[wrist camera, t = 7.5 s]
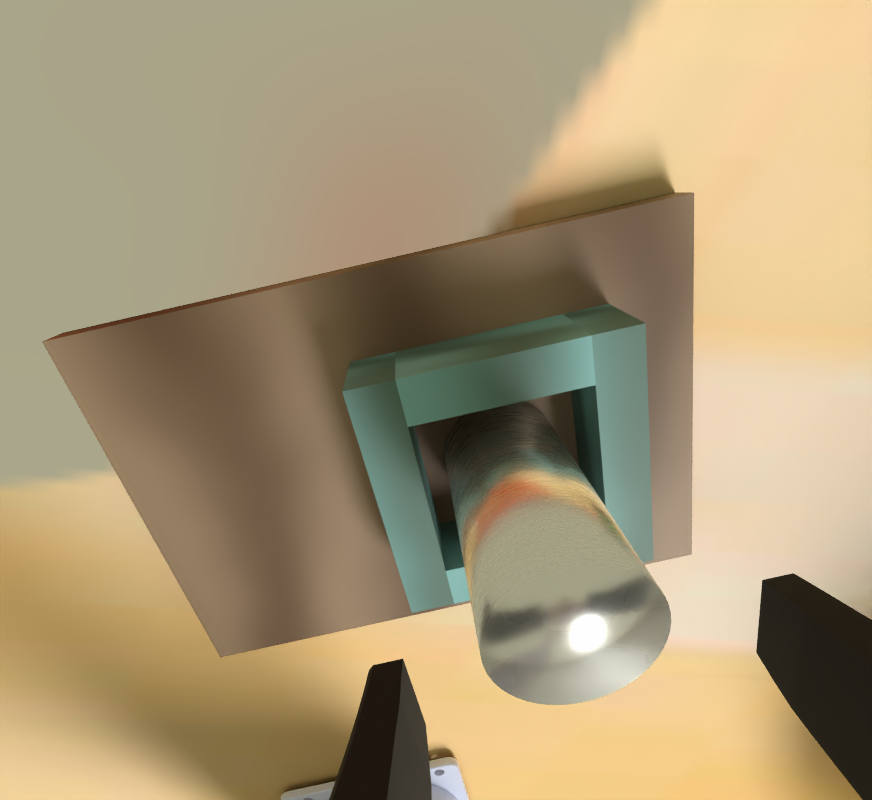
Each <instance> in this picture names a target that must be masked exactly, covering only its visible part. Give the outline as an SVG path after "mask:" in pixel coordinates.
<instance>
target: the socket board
mask: <svg viewBox="0 0 872 800" xmlns="http://www.w3.org/2000/svg"><path fill="white" fill-rule="evenodd" d="M693 269H694V193H672V194H668V195H663V196H659V197H655V198H650V199H646V200H642V201H637V202H633V203H628V204H624V205H620V206H615V207H611V208H607V209H602V210H598V211H594V212H589V213H585V214H580V215H576V216H572V217H567V218H563V219H559V220H554V221H550V222H545V223H541V224H537V225H532V226H528V227H524V228H519V229H515V230H511V231H506V232H502V233H497V234H493V235H489V236H484V237H480V238H476V239H471V240H467V241H462V242H458V243H454V244H449V245H445V246H441V247H436V248H432V249H428V250H423V251H419V252H414V253H410V254H406V255H401V256H397V257H393V258H388V259H384V260H379V261H375V262H371V263H366V264H363V265H358V266H353V267H349V268H344V269H340V270H336V271H331V272H327V273H323V274H318V275H314V276H310V277H305V278H301V279H296V280H292V281H288V282H283V283H279V284H275V285H270V286H266V287H261V288H257V289H253V290H248V291H244V292H240V293H235V294H231V295H227V296H222V297H218V298H213V299H209V300H205V301H201V302H196V303H192V304H187V305H183V306H178V307H174V308H170V309H165V310H162V311H157V312H152V313H148V314H144V315H139V316H135V317H131V318H126V319H122V320H118V321H113V322H109V323H104V324H100V325H96V326H91V327H87V328H83V329H78V330H74V331H70V332H65V333H62V334H59V335H57V336H55V337H52V338H50V339H48V340H45V341H43V344H44V346H45V347H46V349H47V351H48V353H49V354H50V356H51V358H52V360H53V362H54V363H55V365H56V367H57V369H58V371H59V372H60V374H61V376H62V377H63V379H64V381H65V383H66V385H67V386H68V388H69V390H70V392H71V394H72V395H73V397H74V399H75V400H76V402H77V404H78V406H79V408H80V409H81V411H82V413H83V415H84V416H85V418H86V420H87V422H88V424H89V425H90V427H91V429H92V431H93V432H94V434H95V436H96V438H97V440H98V441H99V443H100V445H101V446H102V448H103V450H104V452H105V454H106V455H107V457H108V459H109V461H110V463H111V464H112V466H113V468H114V470H115V471H116V473H117V475H118V477H119V478H120V480H121V482H122V484H123V486H124V487H125V489H126V491H127V493H128V494H129V496H130V498H131V500H132V501H133V503H134V505H135V507H136V509H137V510H138V512H139V514H140V516H141V517H142V519H143V521H144V523H145V524H146V526H147V528H148V530H149V532H150V533H151V535H152V537H153V539H154V540H155V542H156V544H157V546H158V547H159V549H160V551H161V553H162V555H163V556H164V558H165V560H166V562H167V563H168V565H169V567H170V569H171V570H172V572H173V574H174V576H175V578H176V579H177V581H178V583H179V585H180V586H181V588H182V590H183V592H184V593H185V595H186V597H187V599H188V601H189V602H190V604H191V606H192V608H193V609H194V611H195V613H196V615H197V616H198V618H199V620H200V622H201V624H202V625H203V627H204V629H205V631H206V632H207V634H208V636H209V638H210V639H211V641H212V643H213V645H214V647H215V648H216V650H217V652H218V654H219V655H220V657H224V656H229V655H233V654H238V653H242V652H247V651H251V650H256V649H261V648H265V647H270V646H274V645H279V644H283V643H288V642H293V641H297V640H302V639H306V638H311V637H315V636H320V635H325V634H329V633H334V632H338V631H343V630H347V629H352V628H357V627H361V626H366V625H370V624H375V623H379V622H384V621H389V620H393V619H398V618H402V617H407V616H411V615H416V614H421V613H425V612H430V611H434V610H439V609H444V608H448V607H453V606H457V605H462V604H466V603H471V600H470V595H469V589H468V584H467V578H466V573H465V567H464V562H463V556H462V551H461V545H460V540H459V534H458V529H457V523H456V518H455V512H454V507H453V501H452V496H451V490H450V485H449V479H448V474H447V469H446V463H445V456H444V450H445V443H446V439H447V436H448V434H449V432H450V430H451V428H452V427H453V425H454V424H455V422H456V421H457V420H458V419H459V418H460V417H461V416H462V415H464V414H469V413H473V412H478V411H482V410H487V409H491V408H496V407H500V406H505V405H509V404H514V403H518V402H525V403H528V404H530V405H532V406H534V407H535V408H537V409H538V410H539V411H541V412H542V413H543V414H544V415H545V417H546V418H547V419H548V421H549V422H550V424H551V425H552V427H553V428H554V430H555V431H556V433H557V434H558V436H559V437H560V439H561V440H562V442H563V443H564V445H565V446H566V448H567V449H568V451H569V452H570V454H571V455H572V457H573V458H574V460H575V461H576V463H577V464H578V466H579V467H580V469H581V470H582V472H583V473H584V475H585V476H586V478H587V480H588V481H589V483H590V484H591V486H592V487H593V489H594V490H595V492H596V493H597V495H598V496H599V498H600V499H601V501H602V502H603V504H604V505H605V507H606V508H607V510H608V511H609V513H610V514H611V516H612V517H613V519H614V520H615V522H616V523H617V525H618V526H619V528H620V529H621V531H622V532H623V534H624V535H625V537H626V538H627V540H628V541H629V543H630V544H631V546H632V547H633V549H634V550H635V552H636V553H637V555H638V556H639V558H640V559H641V561H642V563H643V564H644V565H645V564H649V563H654V562H659V561H663V560H668V559H672V558H677V557H681V556H686V555H691V554H692V411H693Z"/></svg>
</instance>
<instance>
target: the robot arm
mask: <svg viewBox="0 0 872 800" xmlns="http://www.w3.org/2000/svg"><path fill="white" fill-rule="evenodd" d="M757 654H758V656H759V657H760V659H761V661H762V662H763V664H764V665H765V667H766V669H767V670H768V672H769V674H770V675H771V677H772V678H773V680H774V682H775V683H776V685H777V686H778V688H779V689H780V691H781V693H782V694H783V696H784V697H785V699H786V700H787V702H788V703H789V705H790V706H791V708H792V709H793V711H794V712H795V713H796V715H797V716H798V717H799V719H800V720H801V721H802V722H803V724H804V725H805V726H806V728H807V729H808V730H809V732H810V733H811V734H812V735H813V737H814V738H815V739H816V741H817V742H818V743H819V744H820V746H821V747H822V748H823V750H824V751H825V752H826V754H827V755H828V756H829V757H830V759H831V760H832V761H833V762H834V764H835V765H836V766H837V768H838V769H839V770H840V771H841V773H842V774H843V775H844V777H845V778H846V779H847V780H848V782H849V783H850V784H851V785H852V787H853V788H854V789H855V791H856V792H857V793H858V794H859V796H860V797H861V798H862V800H872V620H871V619H869V618H867V617H866V616H864V615H862V614H861V613H859V612H857V611H856V610H854V609H852V608H851V607H849V606H847V605H846V604H844V603H842V602H841V601H839V600H837V599H836V598H834V597H832V596H831V595H829V594H827V593H826V592H824V591H822V590H821V589H819V588H817V587H816V586H814V585H812V584H811V583H809V582H807V581H805V580H804V579H802V578H800V577H799V576H797V575H795V574H789V575H784V576H779V577H775V578H770V579H766V580H762V592H761V604H760V616H759V628H758V640H757ZM280 800H470V799H469V796H468V793H467V790H466V787H465V784H464V780H463V777H462V774H461V771H460V768H459V765H458V762H457V760H456V759H455V758H453V757H445V758H440V759H436V760H431V761H429V754H428V744H427V734H426V724H425V721H424V718H423V715H422V713H421V710H420V707H419V704H418V701H417V698H416V695H415V692H414V689H413V686H412V684H411V681H410V678H409V675H408V672H407V669H406V666H405V663H404V660H403V659H400V660H395V661H391V662H386V663H382V664H377V665H373V666H372V667H371V669H370V670H369V672H368V676H367V681H366V685H365V688H364V692H363V696H362V700H361V703H360V707H359V710H358V714H357V717H356V720H355V724H354V727H353V730H352V733H351V736H350V740H349V743H348V746H347V749H346V752H345V755H344V758H343V761H342V764H341V766H340V769H339V772H338V775H337V778H336V781H333V782H328V783H324V784H319V785H314V786H310V787H305V788H300V789H296V790H291V791H287V792H285V793H283V794H282V796H281V799H280Z"/></svg>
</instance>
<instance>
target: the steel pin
mask: <svg viewBox="0 0 872 800" xmlns="http://www.w3.org/2000/svg"><path fill="white" fill-rule="evenodd" d="M444 456H445V463H446V469H447V474H448V479H449V485H450V490H451V496H452V501H453V507H454V512H455V518H456V523H457V529H458V534H459V540H460V545H461V551H462V556H463V562H464V567H465V573H466V578H467V584H468V589H469V595H470V600H471V605H472V611H473V616H474V622H475V627H476V633H477V638H478V644H479V649H480V655H481V660H482V663H483V666H484V668H485V670H486V672H487V674H488V675H489V677H490V678H491V679H492V681H493V682H494V683H495V684H496V685H497V686H499V687H500V688H501V689H502V690H504V691H505V692H507V693H509V694H511V695H513V696H515V697H517V698H519V699H522V700H525V701H529V702H533V703H539V704H547V705H565V704H574V703H581V702H585V701H590V700H594V699H597V698H600V697H603V696H605V695H608V694H610V693H612V692H615V691H617V690H619V689H620V688H622V687H624V686H626V685H627V684H629V683H630V682H632V681H634V680H635V679H636V678H638V677H639V676H640V675H641V674H642V673H644V672H645V671H646V670H647V669H648V668H649V667H650V666H651V665H652V664H653V662H654V661H655V660H656V659H657V657H658V656H659V654H660V653H661V651H662V650H663V648H664V646H665V644H666V641H667V639H668V636H669V632H670V626H671V613H670V609H669V605H668V602H667V600H666V598H665V596H664V594H663V593H662V591H661V590H660V588H659V587H658V585H657V584H656V582H655V581H654V579H653V578H652V576H651V575H650V573H649V572H648V570H647V569H646V567H645V566H644V564H643V563H642V561H641V559H640V558H639V556H638V555H637V553H636V552H635V550H634V549H633V547H632V546H631V544H630V543H629V541H628V540H627V538H626V537H625V535H624V534H623V532H622V531H621V529H620V528H619V526H618V525H617V523H616V522H615V520H614V519H613V517H612V516H611V514H610V513H609V511H608V510H607V508H606V507H605V505H604V504H603V502H602V501H601V499H600V498H599V496H598V495H597V493H596V492H595V490H594V489H593V487H592V486H591V484H590V483H589V481H588V480H587V478H586V476H585V475H584V473H583V472H582V470H581V469H580V467H579V466H578V464H577V463H576V461H575V460H574V458H573V457H572V455H571V454H570V452H569V451H568V449H567V448H566V446H565V445H564V443H563V442H562V440H561V439H560V437H559V436H558V434H557V433H556V431H555V430H554V428H553V427H552V425H551V424H550V422H549V421H548V419H547V418H546V417H545V415H544V414H543V413H542V412H541V411H539V410H538V409H537V408H535V407H534V406H532V405H530V404H528V403H525V402H518V403H514V404H509V405H505V406H500V407H496V408H491V409H487V410H482V411H478V412H473V413H469V414H464V415H462V416H461V417H460V418H459V419H458V420H457V421H456V422H455V424H454V425H453V427H452V428H451V430H450V432H449V434H448V436H447V439H446V443H445V450H444Z"/></svg>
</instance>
